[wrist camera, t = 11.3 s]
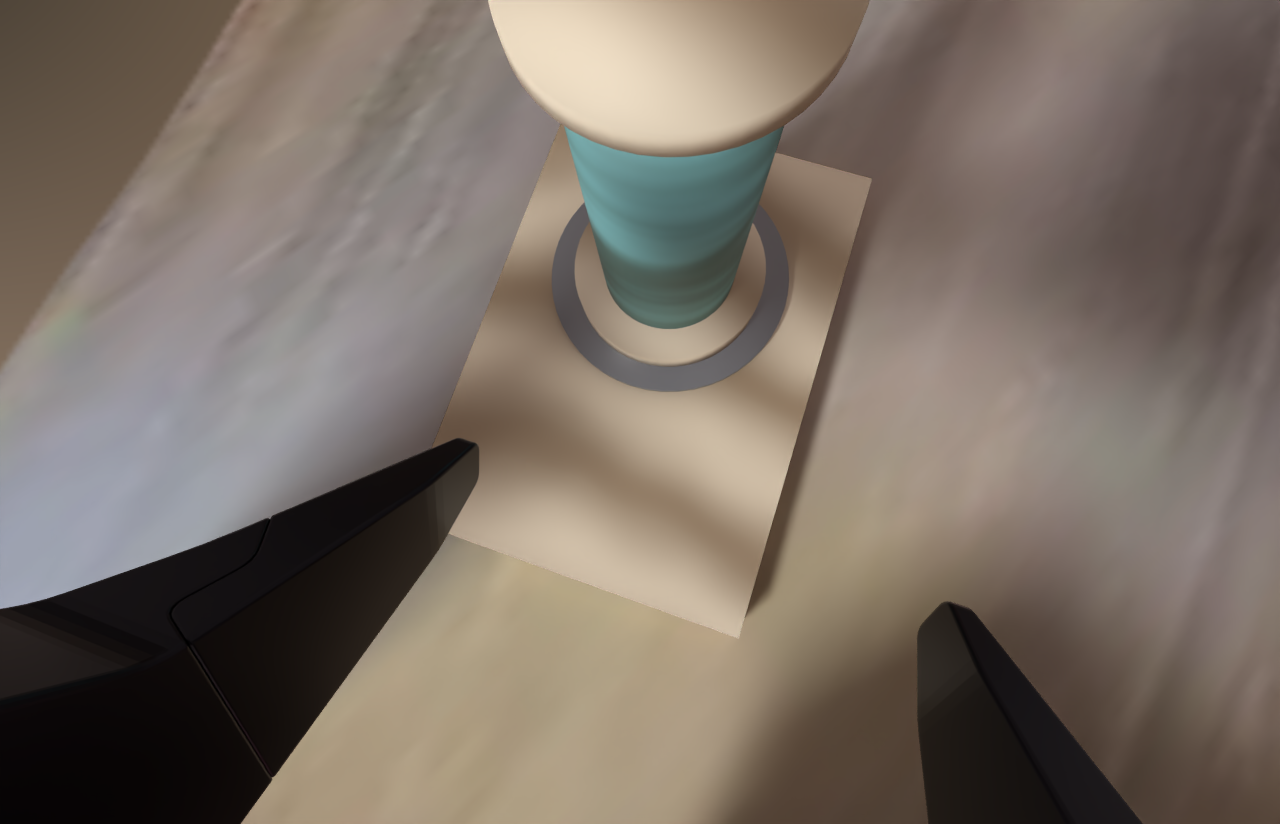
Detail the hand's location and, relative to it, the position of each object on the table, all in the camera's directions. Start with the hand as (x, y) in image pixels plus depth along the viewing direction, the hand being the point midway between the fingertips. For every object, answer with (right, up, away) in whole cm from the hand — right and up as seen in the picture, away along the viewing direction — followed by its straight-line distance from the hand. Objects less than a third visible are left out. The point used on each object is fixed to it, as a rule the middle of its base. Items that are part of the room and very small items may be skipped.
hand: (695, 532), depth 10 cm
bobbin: (0, +8, +12) cm, 14 cm away
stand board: (-1, +5, +13) cm, 14 cm away
